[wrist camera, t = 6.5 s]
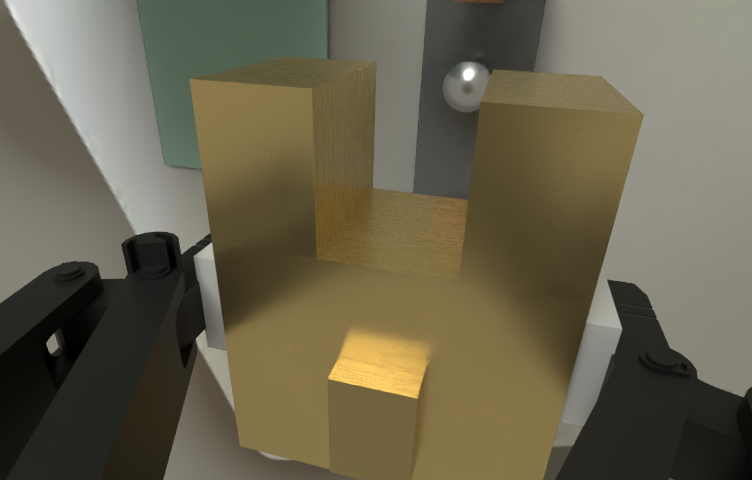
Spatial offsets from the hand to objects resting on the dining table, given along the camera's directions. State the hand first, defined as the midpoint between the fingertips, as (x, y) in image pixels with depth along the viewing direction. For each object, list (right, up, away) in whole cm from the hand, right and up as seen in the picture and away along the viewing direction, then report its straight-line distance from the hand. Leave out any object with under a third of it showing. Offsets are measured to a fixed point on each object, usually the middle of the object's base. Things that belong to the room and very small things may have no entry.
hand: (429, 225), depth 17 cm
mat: (-12, +11, +18) cm, 24 cm away
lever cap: (-1, -1, -2) cm, 2 cm away
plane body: (+5, +8, +15) cm, 17 cm away
